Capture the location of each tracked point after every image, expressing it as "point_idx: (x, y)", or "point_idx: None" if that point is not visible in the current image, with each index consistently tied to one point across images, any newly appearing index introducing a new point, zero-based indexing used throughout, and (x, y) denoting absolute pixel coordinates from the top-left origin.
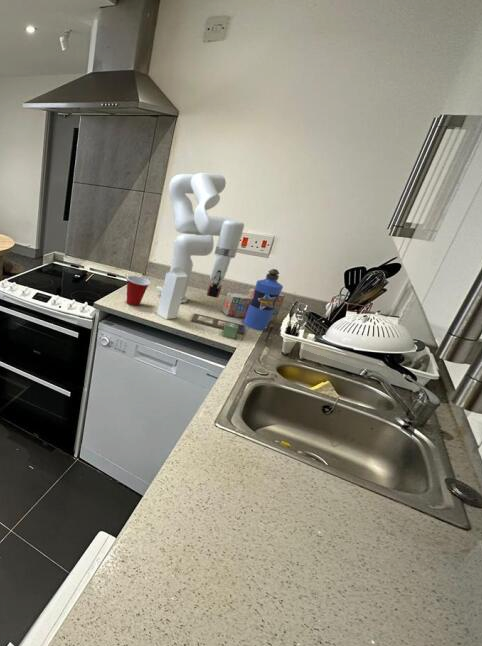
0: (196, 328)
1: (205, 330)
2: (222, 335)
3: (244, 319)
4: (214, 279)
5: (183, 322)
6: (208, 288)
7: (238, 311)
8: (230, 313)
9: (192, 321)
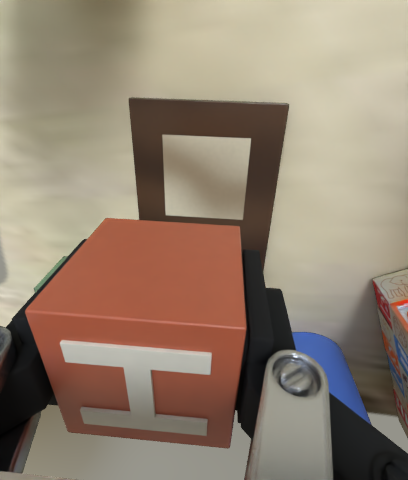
0: (45, 142)
1: (60, 188)
2: (62, 258)
3: (307, 346)
4: (253, 454)
5: (71, 50)
6: (60, 271)
7: (392, 338)
8: (381, 298)
9: (130, 107)
